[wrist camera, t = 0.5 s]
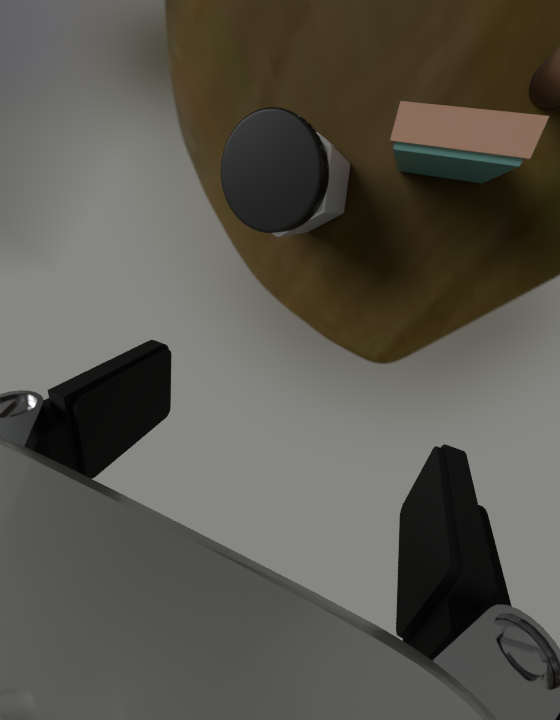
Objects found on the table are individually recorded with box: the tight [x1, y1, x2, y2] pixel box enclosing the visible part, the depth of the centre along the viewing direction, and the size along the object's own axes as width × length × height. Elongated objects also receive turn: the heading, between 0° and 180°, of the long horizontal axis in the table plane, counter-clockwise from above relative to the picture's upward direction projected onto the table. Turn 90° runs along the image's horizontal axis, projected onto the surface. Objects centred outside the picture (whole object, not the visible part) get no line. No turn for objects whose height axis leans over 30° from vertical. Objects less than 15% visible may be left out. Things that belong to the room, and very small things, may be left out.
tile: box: [390, 101, 549, 184], centre depth 24 cm, size 2×8×12 cm, turn 80°
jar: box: [221, 107, 350, 237], centre depth 29 cm, size 9×8×12 cm
